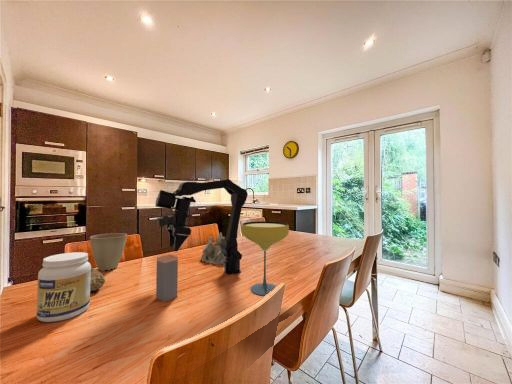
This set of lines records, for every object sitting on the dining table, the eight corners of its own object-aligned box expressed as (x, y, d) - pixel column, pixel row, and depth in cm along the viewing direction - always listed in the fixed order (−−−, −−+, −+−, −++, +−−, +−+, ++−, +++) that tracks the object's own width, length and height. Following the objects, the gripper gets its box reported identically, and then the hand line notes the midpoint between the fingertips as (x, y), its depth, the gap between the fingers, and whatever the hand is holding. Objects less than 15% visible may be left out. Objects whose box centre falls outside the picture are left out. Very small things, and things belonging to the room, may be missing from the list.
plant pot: (127, 270, 104) (128, 236, 105) (88, 276, 96) (88, 239, 96) (125, 262, 117) (125, 231, 117) (90, 266, 108) (90, 234, 109)
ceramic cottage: (201, 256, 129) (203, 230, 128) (230, 256, 130) (231, 231, 130) (197, 266, 113) (199, 237, 112) (229, 267, 115) (231, 238, 114)
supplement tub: (26, 328, 58) (28, 264, 59) (48, 307, 70) (49, 253, 70) (83, 318, 63) (84, 259, 64) (94, 300, 74) (96, 249, 75)
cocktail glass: (245, 279, 94) (246, 220, 95) (288, 281, 92) (288, 221, 92) (236, 298, 76) (237, 226, 77) (288, 302, 74) (289, 228, 74)
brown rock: (66, 285, 89) (53, 294, 72) (72, 265, 91) (61, 269, 75) (105, 285, 95) (101, 293, 79) (109, 266, 97) (107, 270, 81)
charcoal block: (169, 292, 80) (169, 254, 81) (177, 296, 77) (177, 256, 78) (156, 297, 76) (156, 257, 77) (164, 302, 73) (164, 260, 74)
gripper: (157, 206, 95) (148, 242, 93) (165, 209, 80) (155, 252, 78) (183, 211, 101) (175, 245, 99) (195, 214, 85) (186, 254, 83)
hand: (172, 248), depth 90 cm, fingers open, 9 cm apart
